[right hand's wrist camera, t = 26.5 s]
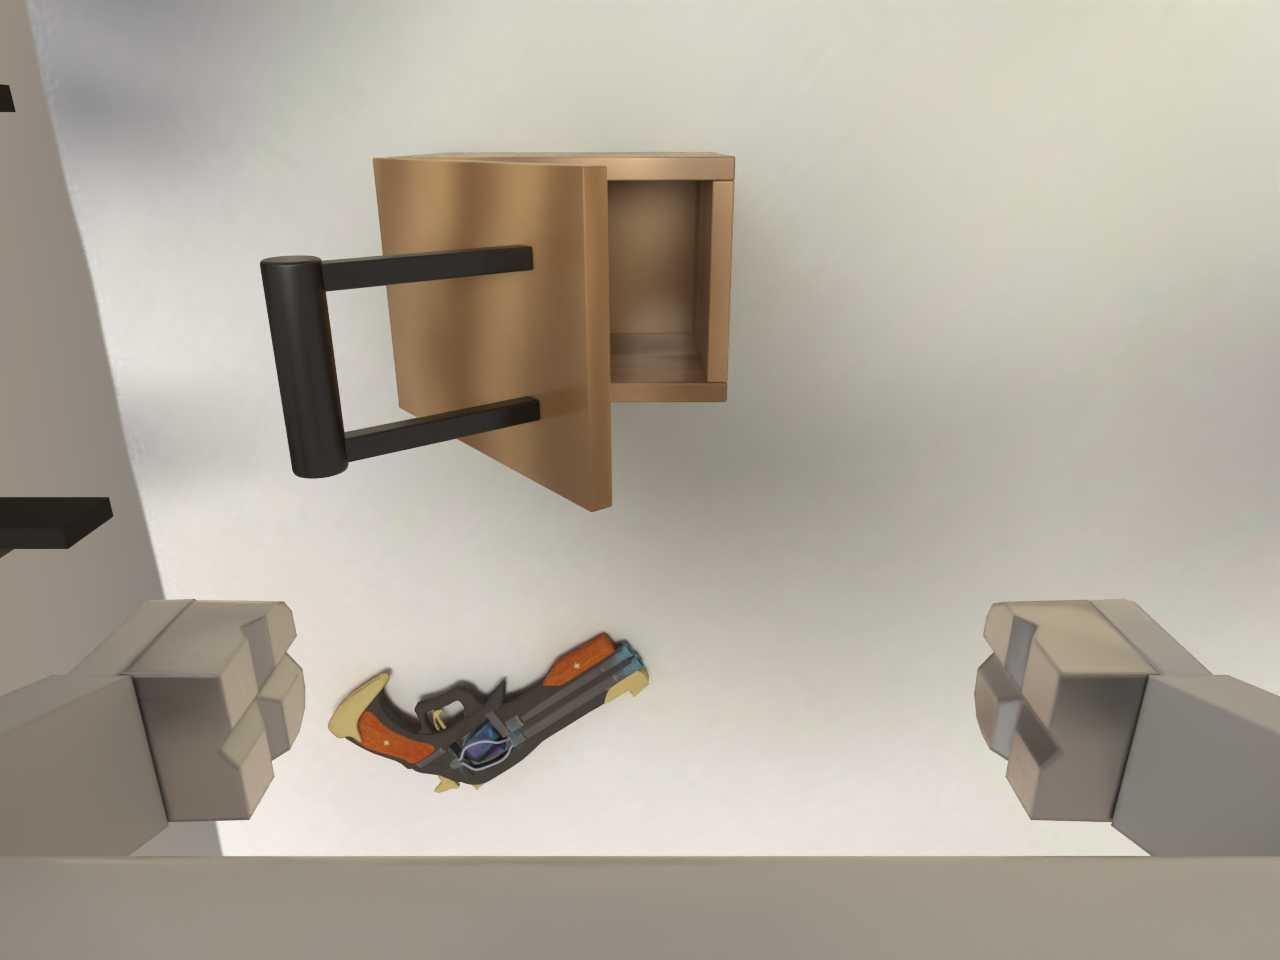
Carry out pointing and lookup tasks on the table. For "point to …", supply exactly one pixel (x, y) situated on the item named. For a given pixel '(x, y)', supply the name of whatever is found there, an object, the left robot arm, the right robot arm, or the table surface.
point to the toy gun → (489, 716)
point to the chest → (661, 268)
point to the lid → (466, 323)
